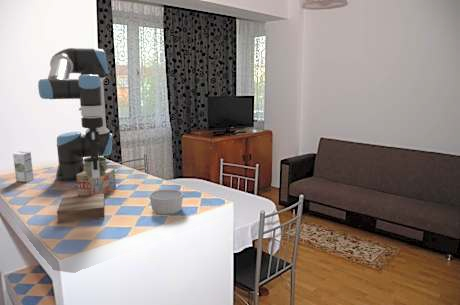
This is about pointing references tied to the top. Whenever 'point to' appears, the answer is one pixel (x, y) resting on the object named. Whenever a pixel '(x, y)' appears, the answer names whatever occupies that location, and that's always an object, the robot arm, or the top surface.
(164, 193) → the ramekin
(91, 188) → the stack of blocks
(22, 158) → the syrup box
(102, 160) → the vessel
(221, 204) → the top surface
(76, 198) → the walnut block
